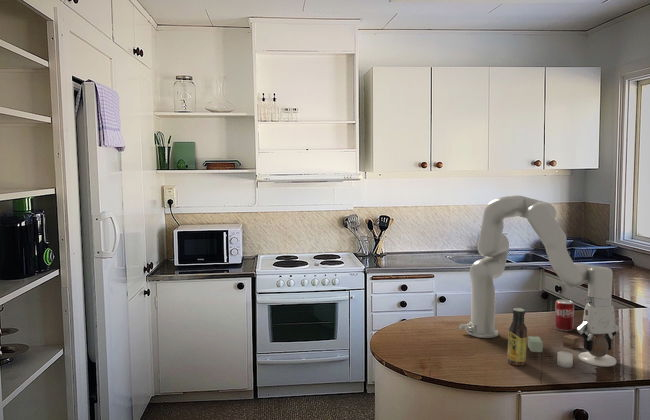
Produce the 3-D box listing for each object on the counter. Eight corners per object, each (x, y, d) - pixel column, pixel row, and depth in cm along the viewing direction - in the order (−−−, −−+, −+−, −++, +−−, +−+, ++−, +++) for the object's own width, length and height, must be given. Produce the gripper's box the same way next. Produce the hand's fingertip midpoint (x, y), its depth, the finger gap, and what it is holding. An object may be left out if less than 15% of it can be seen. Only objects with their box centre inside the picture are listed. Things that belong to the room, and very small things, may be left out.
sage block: (531, 351, 193) (531, 341, 192) (527, 346, 199) (528, 336, 198) (542, 352, 192) (542, 342, 192) (538, 346, 198) (538, 336, 197)
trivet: (592, 367, 177) (593, 365, 177) (571, 354, 189) (571, 352, 189) (624, 365, 178) (624, 363, 178) (601, 352, 190) (601, 350, 190)
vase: (606, 352, 186) (607, 329, 185) (609, 359, 179) (610, 335, 178) (585, 350, 188) (585, 327, 187) (588, 357, 181) (589, 333, 180)
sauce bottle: (504, 360, 184) (505, 306, 183) (520, 359, 185) (522, 306, 183) (512, 367, 178) (513, 311, 176) (529, 366, 178) (531, 311, 177)
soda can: (575, 332, 214) (576, 304, 213) (556, 331, 215) (557, 303, 214) (570, 326, 221) (571, 299, 220) (552, 325, 223) (553, 298, 221)
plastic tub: (562, 368, 177) (562, 357, 177) (554, 362, 182) (554, 351, 181) (575, 367, 178) (576, 356, 177) (567, 361, 183) (567, 350, 182)
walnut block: (572, 349, 195) (572, 339, 194) (563, 346, 198) (563, 336, 198) (578, 347, 196) (579, 337, 196) (569, 344, 200) (570, 334, 200)
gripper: (583, 305, 177) (581, 354, 178) (629, 303, 179) (626, 351, 181) (570, 299, 184) (568, 347, 186) (614, 297, 187) (612, 344, 188)
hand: (597, 349), depth 183 cm, fingers closed on vase, 6 cm apart
